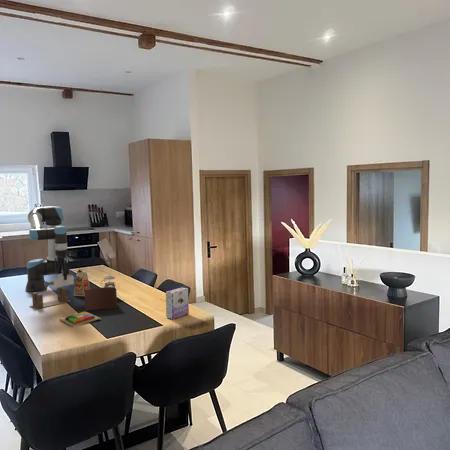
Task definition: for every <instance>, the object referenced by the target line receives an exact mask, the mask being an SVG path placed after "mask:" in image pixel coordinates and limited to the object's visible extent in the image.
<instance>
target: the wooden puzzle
mask: <svg viewBox="0 0 450 450" xmlns="http://www.w3.org/2000/svg"><path fill="white" fill-rule="evenodd" d="M58 320H59V321H61V322H62V321H63V323H64V322H65V324H67V325H68V326H70V327H72V326H75V327H78V326H77V325H79V326H82V325H81V324H83V325H86V324H89V323H92V322H95V321H97V320H98V321H99V320H100V321H101V320H102V318H101V317H99V316H97V315H94V314H93V313H90V312H87V311H82V312H78V313H75V314H73V315H68V316H65V318H59V319H58ZM85 323H86V324H85Z"/></svg>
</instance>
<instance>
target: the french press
mask: <svg viewBox="0 0 450 450" xmlns="http://www.w3.org/2000/svg"><path fill="white" fill-rule="evenodd" d="M110 264H111V262H110V261H109V262H107V265H110ZM114 279H116V276H114V275H110V274H109V275H106V276H104V277H103V279H102V280H101V281H100V283H99V284H100V288H104V287H110V288H116V284H115V283H116V282H113V281H110V280H114ZM106 280H109V282H106ZM103 282H104V285H103V286H102V283H103Z"/></svg>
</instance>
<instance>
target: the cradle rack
mask: <svg viewBox="0 0 450 450" xmlns="http://www.w3.org/2000/svg"><path fill="white" fill-rule="evenodd" d="M56 290H57V292H56V293H57V299H55V300H49V301H47V302H46V301H45V302H44V298H43V297H44V295H43V294H42V293H38V292H31V300H32V305H29V308H31V309H35V310H40V309H45V308H49V307H54V306H58V305H62V303H63V304H67V303H70V302H72V300H71V299H69V292H68V291H69V290H68V288H63V287H57V289H56ZM66 302H67V303H66Z"/></svg>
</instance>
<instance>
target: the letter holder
mask: <svg viewBox="0 0 450 450" xmlns="http://www.w3.org/2000/svg"><path fill="white" fill-rule="evenodd" d="M110 287H111V286H108V287H104V286H103V287H102V288H101V287H95V288H90V289H88V290H85V296H84V310H85V311H92V310H93V311H97V310H106V309H107V310H108V309H117V307H118V304H117V303H118V299H117V297H118V296H117V288H116V287H115V288H110Z"/></svg>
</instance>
